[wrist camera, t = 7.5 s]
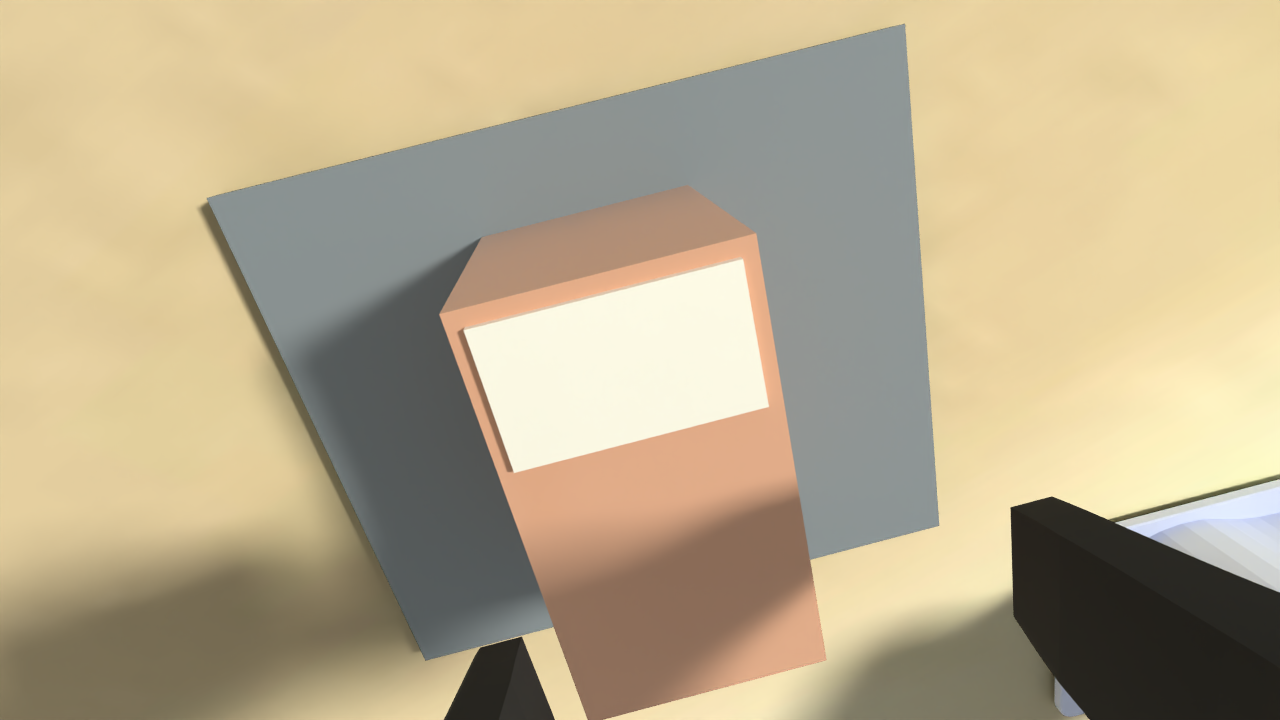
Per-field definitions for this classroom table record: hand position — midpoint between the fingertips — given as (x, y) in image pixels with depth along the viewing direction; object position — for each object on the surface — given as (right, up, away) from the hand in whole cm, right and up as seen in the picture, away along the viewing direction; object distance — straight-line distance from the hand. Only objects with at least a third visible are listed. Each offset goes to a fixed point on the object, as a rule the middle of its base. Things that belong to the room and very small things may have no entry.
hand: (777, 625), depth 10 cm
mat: (-2, +3, +9) cm, 9 cm away
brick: (-2, +3, +8) cm, 9 cm away
